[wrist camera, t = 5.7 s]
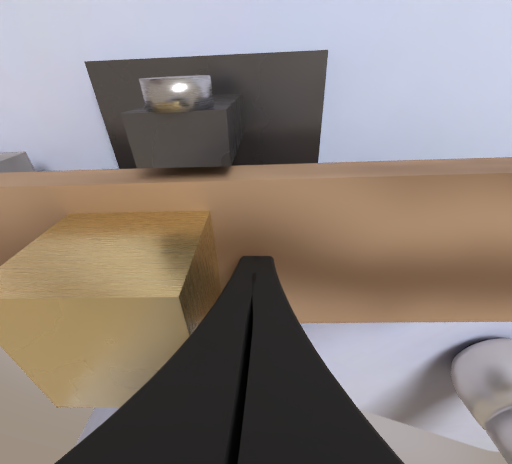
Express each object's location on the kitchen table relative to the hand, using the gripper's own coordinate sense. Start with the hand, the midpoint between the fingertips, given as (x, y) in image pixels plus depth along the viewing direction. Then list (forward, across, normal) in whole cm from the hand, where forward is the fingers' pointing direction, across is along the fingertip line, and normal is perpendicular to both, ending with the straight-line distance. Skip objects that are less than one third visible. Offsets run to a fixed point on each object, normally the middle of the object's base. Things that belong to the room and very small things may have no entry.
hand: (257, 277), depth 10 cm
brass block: (+1, +4, 0) cm, 4 cm away
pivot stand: (+6, +2, 0) cm, 7 cm away
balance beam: (+5, +2, 0) cm, 6 cm away
